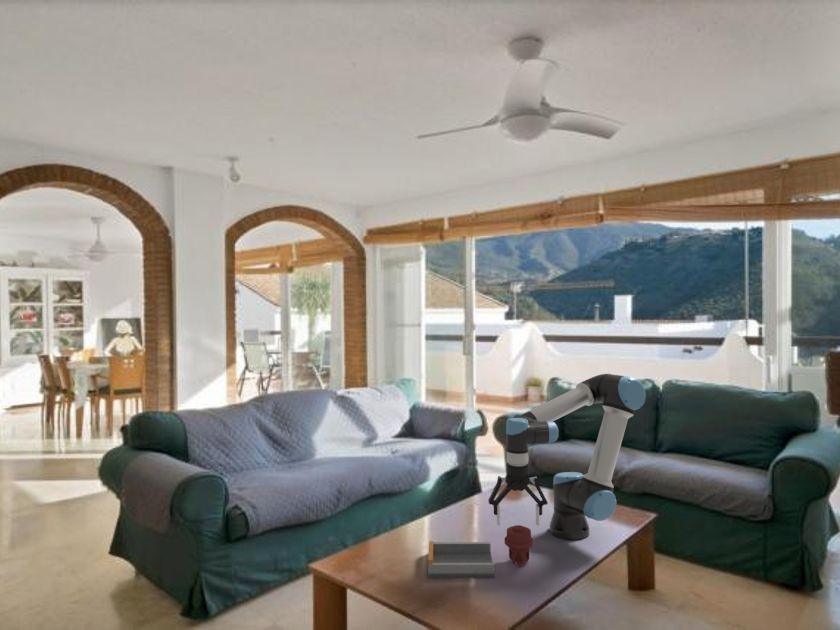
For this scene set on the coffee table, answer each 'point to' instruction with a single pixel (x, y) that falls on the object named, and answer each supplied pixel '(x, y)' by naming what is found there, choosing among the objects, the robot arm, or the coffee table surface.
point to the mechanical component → (519, 543)
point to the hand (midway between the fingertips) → (517, 524)
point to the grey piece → (460, 560)
